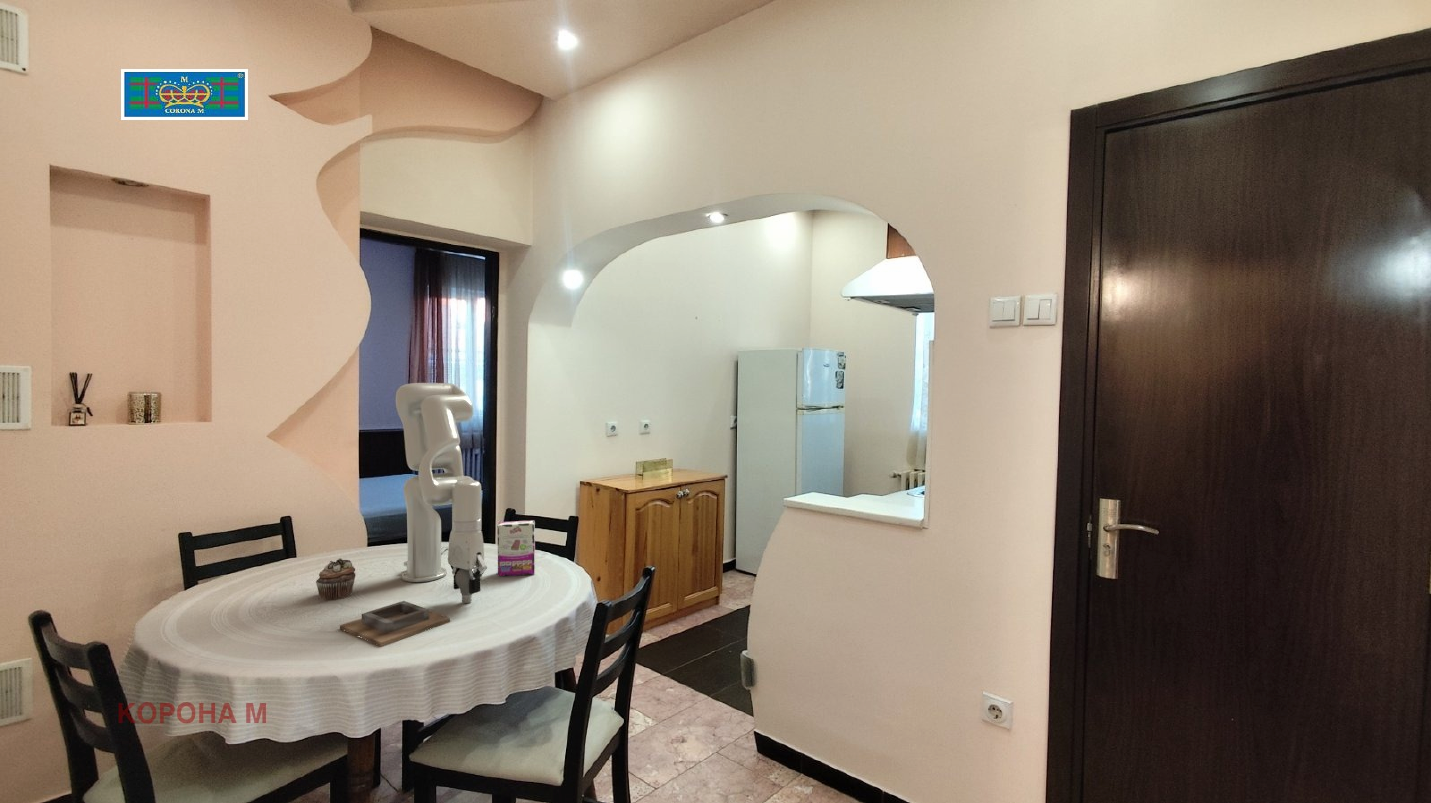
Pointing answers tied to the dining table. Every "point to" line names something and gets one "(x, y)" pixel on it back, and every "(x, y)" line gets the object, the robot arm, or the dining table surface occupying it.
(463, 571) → the light bulb
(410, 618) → the socket holder
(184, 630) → the dining table surface
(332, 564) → the cupcake
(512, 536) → the candy bar box
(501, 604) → the dining table surface
